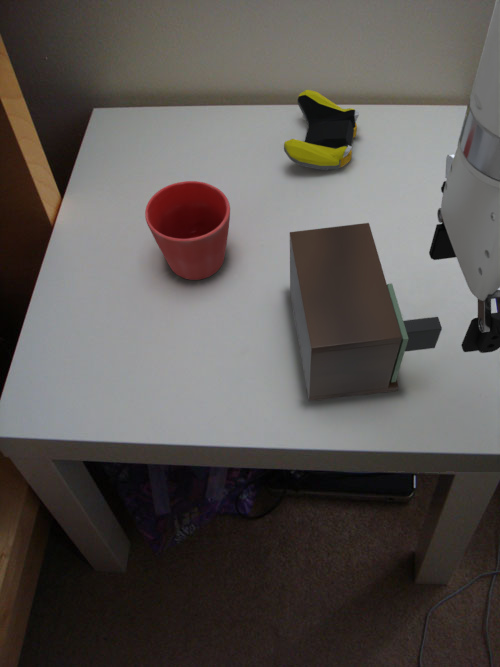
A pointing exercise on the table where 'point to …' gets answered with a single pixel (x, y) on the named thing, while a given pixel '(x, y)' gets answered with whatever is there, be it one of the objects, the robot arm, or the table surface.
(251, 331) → the table surface
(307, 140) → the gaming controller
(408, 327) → the sliding door
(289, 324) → the table surface
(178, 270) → the flower pot
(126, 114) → the table surface
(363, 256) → the cupboard
